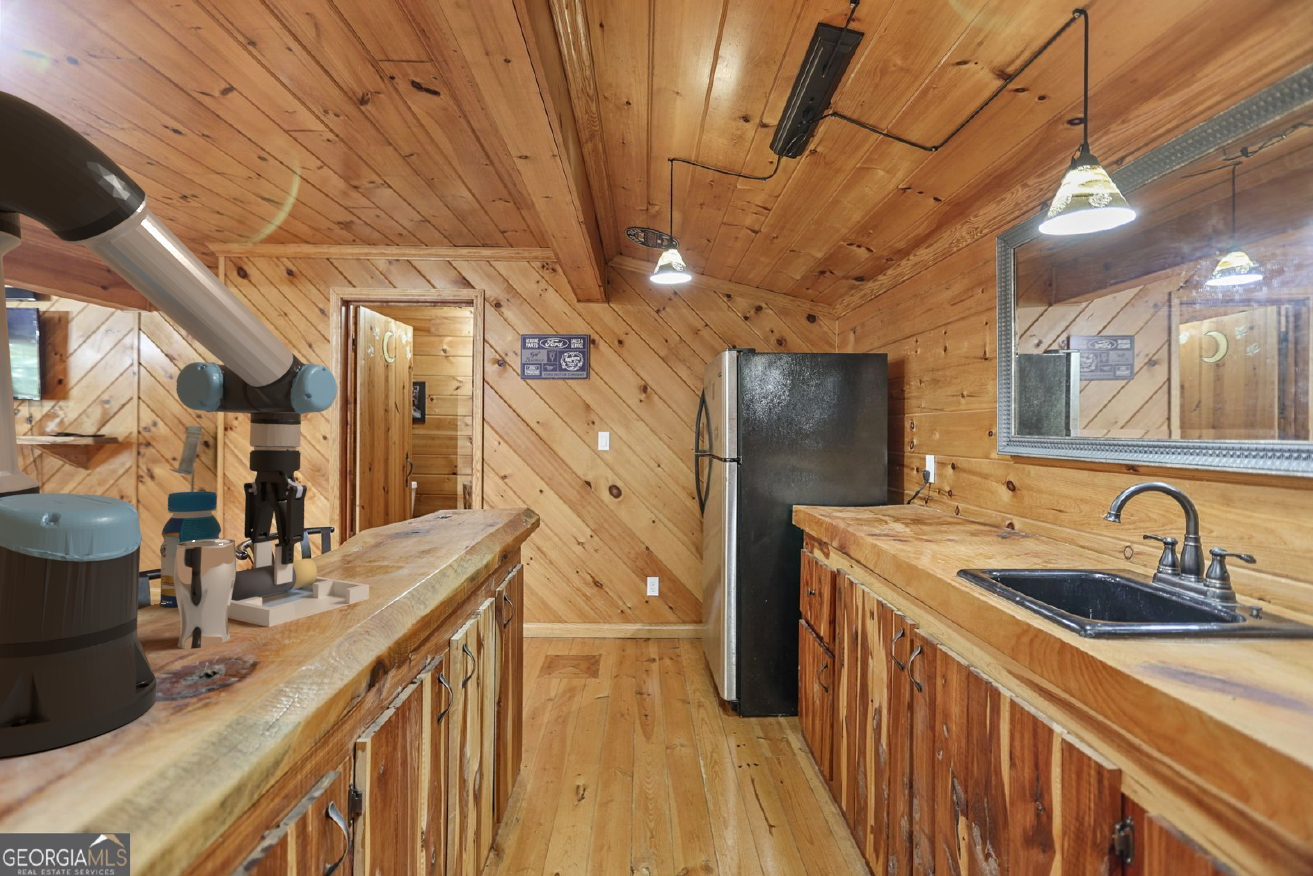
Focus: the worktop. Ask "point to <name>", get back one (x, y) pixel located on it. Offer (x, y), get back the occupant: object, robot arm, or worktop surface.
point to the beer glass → (204, 590)
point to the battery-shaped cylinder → (272, 580)
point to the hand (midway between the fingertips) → (272, 580)
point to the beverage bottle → (185, 533)
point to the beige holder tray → (298, 602)
